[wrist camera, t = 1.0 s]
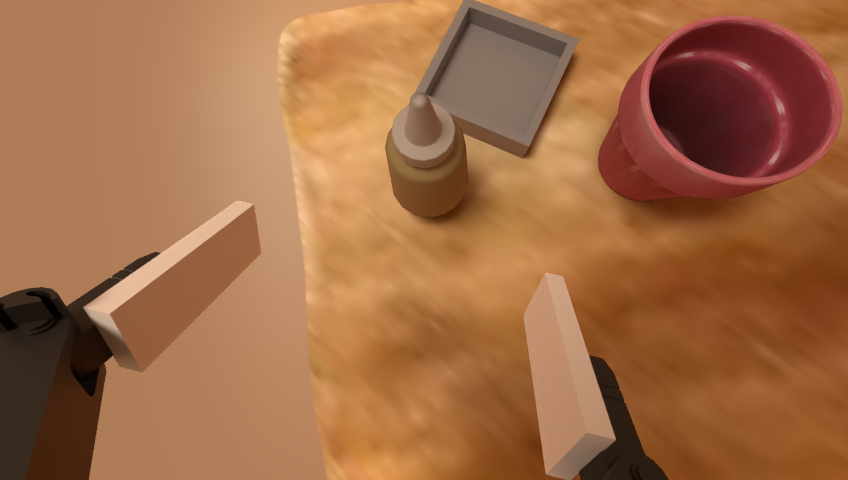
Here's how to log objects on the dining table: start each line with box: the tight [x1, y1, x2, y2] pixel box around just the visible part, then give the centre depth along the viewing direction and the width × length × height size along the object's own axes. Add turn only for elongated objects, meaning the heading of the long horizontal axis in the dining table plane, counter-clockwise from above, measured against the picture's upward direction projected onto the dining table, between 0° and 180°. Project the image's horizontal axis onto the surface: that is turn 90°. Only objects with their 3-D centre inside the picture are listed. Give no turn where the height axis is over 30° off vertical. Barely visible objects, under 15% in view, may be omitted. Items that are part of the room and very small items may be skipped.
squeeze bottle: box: [385, 92, 468, 217], centre depth 28 cm, size 8×8×18 cm
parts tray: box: [415, 0, 579, 158], centre depth 37 cm, size 14×14×3 cm
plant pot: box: [598, 15, 842, 201], centre depth 30 cm, size 14×14×13 cm
